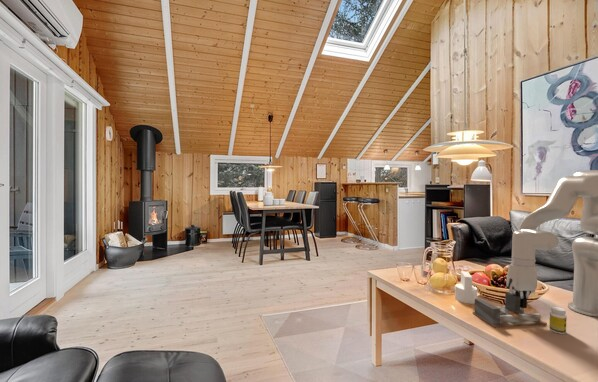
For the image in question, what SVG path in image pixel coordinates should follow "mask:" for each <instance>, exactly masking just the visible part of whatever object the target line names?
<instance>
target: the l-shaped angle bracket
mask: <svg viewBox="0 0 598 382" xmlns="http://www.w3.org/2000/svg"><path fill="white" fill-rule="evenodd" d="M504 294H505V298H504V299H505V300H504V306H505V308H500V315H514V316H516V317H519V315H517V314H520V296H518V295H516V294H513V293H510V292H509V291H505V293H504Z"/></svg>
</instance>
